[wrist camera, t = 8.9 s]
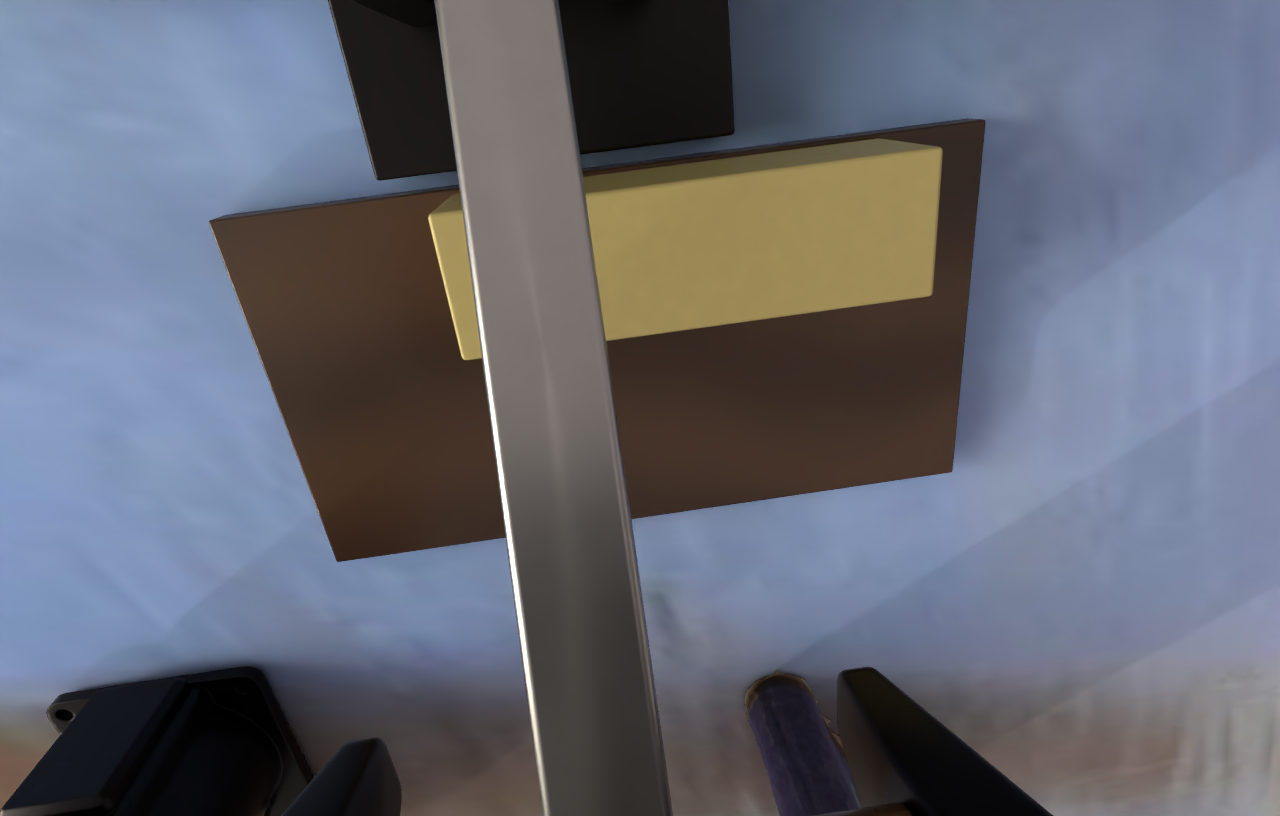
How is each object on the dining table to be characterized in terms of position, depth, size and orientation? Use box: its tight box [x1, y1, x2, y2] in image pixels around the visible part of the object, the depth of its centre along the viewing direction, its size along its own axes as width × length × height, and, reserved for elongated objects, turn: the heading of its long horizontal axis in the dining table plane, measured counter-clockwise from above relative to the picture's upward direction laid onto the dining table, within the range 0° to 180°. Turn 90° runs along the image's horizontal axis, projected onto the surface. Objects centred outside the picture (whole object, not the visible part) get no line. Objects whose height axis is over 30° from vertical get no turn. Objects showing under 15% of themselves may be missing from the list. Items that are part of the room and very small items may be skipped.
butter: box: [428, 138, 943, 360], centre depth 15 cm, size 3×10×3 cm, turn 97°
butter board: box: [209, 119, 985, 562], centre depth 18 cm, size 10×18×1 cm, turn 97°
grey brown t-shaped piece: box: [435, 0, 914, 816], centre depth 6 cm, size 14×6×2 cm, turn 7°
